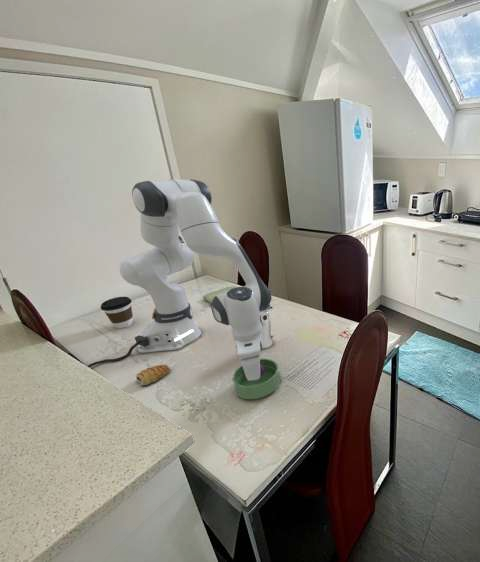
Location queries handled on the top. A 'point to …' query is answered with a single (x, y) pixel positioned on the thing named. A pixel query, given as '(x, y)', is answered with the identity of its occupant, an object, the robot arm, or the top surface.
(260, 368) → the ball
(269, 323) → the beer glass
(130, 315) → the coffee cup
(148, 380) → the pastry
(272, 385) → the bowl
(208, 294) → the washcloth
